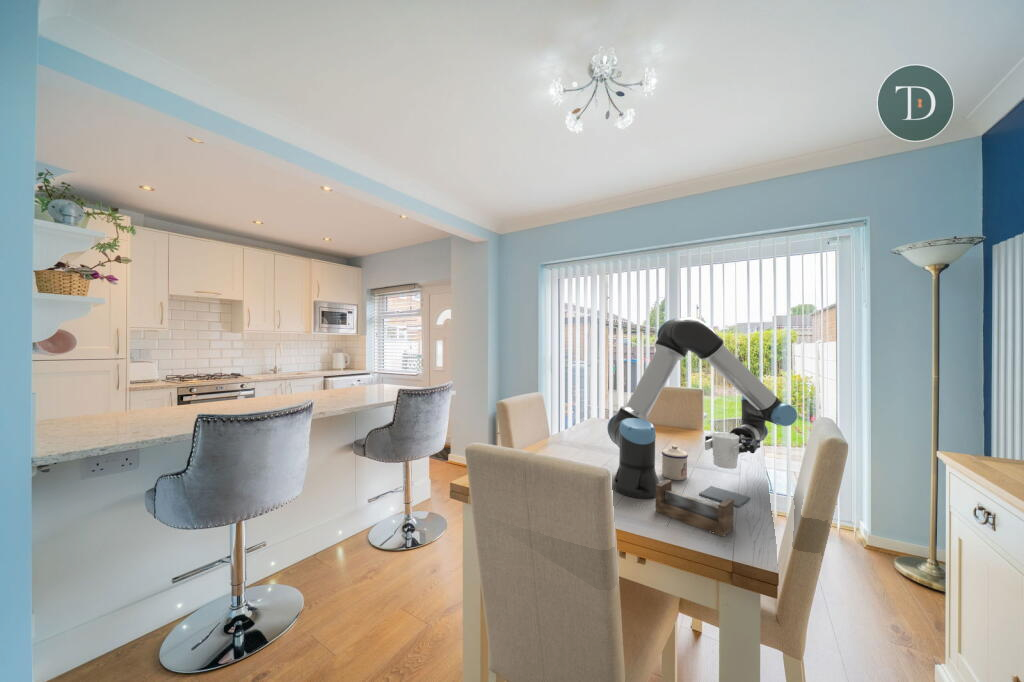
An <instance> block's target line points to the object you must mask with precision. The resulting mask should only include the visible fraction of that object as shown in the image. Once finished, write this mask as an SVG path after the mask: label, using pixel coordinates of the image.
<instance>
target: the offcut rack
mask: <svg viewBox="0 0 1024 682" xmlns="http://www.w3.org/2000/svg"><path fill="white" fill-rule="evenodd" d="M672 482H673V480H672V479H669V478H667V479H665V480H663V481H661V482H659V484H657V485H656V497H655V512H656V513H658V514H661V515H665V516H667V517H670V518H672V519H675V520H678V521H680V522H683V523H686V524H688V525H690V526H694V527H697V528H699V529H701V528H702V530H704V529H705V531H707V530H708V531H707V532H709V531H711V532H710V533H712V532H714V533H713V534H715V533H716V534H715V535H717V534H719V535H718V536H720V535H722V536H721V537H723V536H724V535H725V536H727V533H728V532H729V531H730V532H731V531H732V530H733V529H734V518H735V517H734V515H735V513H734V509H735V508H734V507H735V506H734V499H731V498H727V499H725V500H724V501H723V502H720V503H718V504H714V503H711V502H709V501H704V500H702V499H698V498H695V497H693V496H689V495H686V494H683V493H681V492H676V491H674V490H673V489H672V487H673V486H672V484H673V483H672ZM731 529H732V530H731ZM730 532H729V533H730ZM729 533H728V534H729ZM725 536H724V537H725Z"/></svg>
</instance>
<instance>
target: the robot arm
mask: <svg viewBox="0 0 1024 682" xmlns="http://www.w3.org/2000/svg"><path fill="white" fill-rule="evenodd" d="M656 337H657V339H656V341H655V343H654V349H655V352H654V353H653V356H652V357H651V359H650V361H649V363H648V365H647V367H646V369H645V370H644V372H643V374H642V376H641V378H640V379H639V381H638V383H637V384H636V387H635V389H634V391H633V392H632V394H631V396H630V398H629V399H628V402H627V403H626V405H622V406H620V408H619V410H618V411H617V413H616V414H614V415H613V416H611V418H610V419H609V420H608V423H607V425H606V426H607V433H608V436H609V439H610V440H611V441H612V443H613V444H615V445H616V446H617V447H618V448H619V464H618V468H617V471H616V474H615V476H614V479H613V488H614V490H615V489H616V490H617V492H618V493H619V492H620V494H622V495H625V496H628V497H632V498H637V499H651V498H656V485H657V484H659V483H660V482H659V479H658V475H657V472H656V468H655V467H656V437H657V434H656V427H655V426H654V424H653V423H652V422H650V421H649V420H650V419H649V415H650V413H651V411H652V409H653V408H654V405H655V403H656V402H657V400H658V398H659V396H660V394H661V393H662V391H663V389H664V387H665V385H666V383H667V382H668V380H669V378H670V376H671V374H672V372H673V371H674V368H675V367H676V365H677V363H678V362H679V361H682V360H684V359H685V358H686V356H687V354H688V352H691V353H692V354H694V355H696V357H698V359H700V360H705V361H706V362H707V363H708V364H709V365H710V366H711V367H713V369H715V370H716V371H717V373H719V374H720V376H722V377H723V379H725V380H726V381H727V382H728V383H729V384H730V385H731V386H732V387H733V388H734V389H735V390H736V391H737V392H738V393H739V394H740V395H741V400H740V402H741V424H740V425H739V426H737V427H735V428H733V429H731V430H730V431H729V433H730V434H734V435H737V436H739V444H738V445H736V446H734V447H733V456H737V455H738V456H739V455H740V454H744V453H748V452H749V453H750V454H755V452H756V451H757V450H758V449H759V448H761V442H763V441H764V440H765V439H766V438H767V436H768V434H769V429H768V427H767V425H766V422H769V423H772V424H775V425H777V426H781V427H782V426H783V427H789V426H792V425H793V424H795V422H796V421H797V419H798V411H797V410H796V408H795V407H794V406H793V405H790V404H788V403H785V402H783V401H781V400H780V399H779V398H778V396H777V395H775V394H774V393H773V392H772V391H771V390H770V389H769V388H768V387H767V386H766V385H765V384H764V383H763V381H761V380H760V378H758V377H757V376H756V375H755V374H754V373H753V372H752V371H751V370H750V369H749V368H747V366H746V365H745V364H744V363H742V362H741V360H739V358H738V357H737V356H735V354H734V353H733V352H731V351H730V349H728V348H727V346H725V341H724V340H723V338H721V336H719V334H718V333H717V332H715V331H714V330H713V329H712V328H711V327H710V326H709V325H708V324H707V323H705V322H703V321H702V320H700V319H698V318H695V317H688V316H687V317H684V318H682V317H681V318H672V319H668V320H667V321H664V322H663V323H662V324H661V325H660V326H659V327H658V330H657V336H656ZM704 439H705V441H704V450H705V451H709V450H710V449H712V434H709V435H705V437H704ZM616 490H615V491H616Z"/></svg>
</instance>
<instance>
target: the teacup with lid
mask: <svg viewBox="0 0 1024 682" xmlns="http://www.w3.org/2000/svg"><path fill="white" fill-rule="evenodd" d="M661 455H662V456H661V458H662V459H661V462H662V465H661V475H662V476H663V477H664V478H665V479H666V478H667V479H668V480H672V479H673V480H674V481H684V480H686V479H687V478H688V457H689V456H688V453H687V452H686V451H684V450H682V449H680V448H678V445H675V444H674V445H673V444H672V445H671V447H669V448H665V449H663V450H662V451H661ZM673 480H672V481H673Z"/></svg>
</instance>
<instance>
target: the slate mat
mask: <svg viewBox="0 0 1024 682" xmlns="http://www.w3.org/2000/svg"><path fill="white" fill-rule="evenodd" d="M698 495H699V496H700V497H703V496H704V498H707V499H710V500H713V499H714V500H713V501H716V500H717V501H716V502H719V501H720V503H721V502H723V501H724V500H725V499H727V498H731V499H734V507H735V506H736V508H741V507H742V506H744V504H745V503H747V502H749V500H750V499H751V497H750V496H747V495H744V494H741V493H737V492H733V491H729V490H727V489H723V488H720V487H716V486H712V485H710V486H708V487H707V488H706V489H704V490H702V491H701V492H699V493H698ZM746 501H747V502H746ZM741 505H742V506H741ZM740 506H741V507H740Z"/></svg>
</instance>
